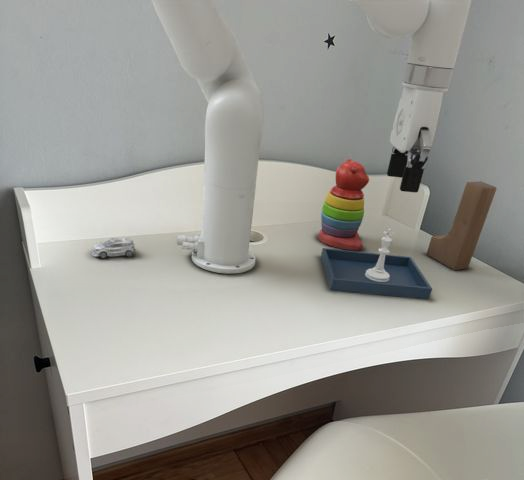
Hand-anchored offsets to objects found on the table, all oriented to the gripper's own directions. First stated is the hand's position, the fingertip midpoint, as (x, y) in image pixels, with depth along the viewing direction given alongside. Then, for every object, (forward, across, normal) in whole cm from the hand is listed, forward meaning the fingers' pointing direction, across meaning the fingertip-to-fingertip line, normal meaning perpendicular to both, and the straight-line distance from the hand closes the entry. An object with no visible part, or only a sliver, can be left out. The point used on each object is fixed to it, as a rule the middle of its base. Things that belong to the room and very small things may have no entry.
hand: (401, 183), depth 94 cm
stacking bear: (+19, -19, -5) cm, 27 cm away
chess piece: (+19, 0, 0) cm, 19 cm away
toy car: (+18, +1, -52) cm, 55 cm away
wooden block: (+20, -13, +19) cm, 30 cm away
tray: (+19, 0, -1) cm, 19 cm away
